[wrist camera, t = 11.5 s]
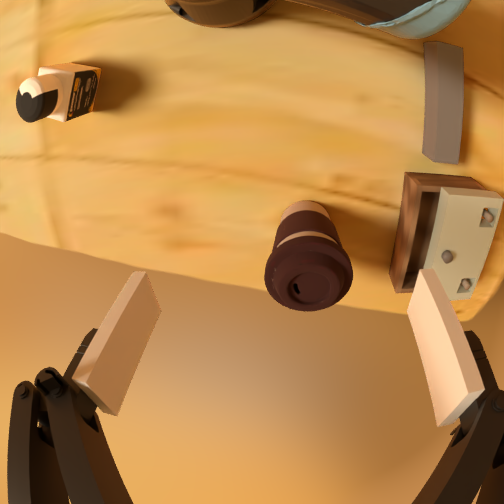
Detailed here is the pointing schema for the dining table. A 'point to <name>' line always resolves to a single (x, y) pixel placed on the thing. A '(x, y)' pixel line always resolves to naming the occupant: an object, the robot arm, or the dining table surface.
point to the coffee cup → (307, 260)
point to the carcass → (421, 224)
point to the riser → (443, 101)
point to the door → (462, 238)
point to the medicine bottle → (58, 92)
